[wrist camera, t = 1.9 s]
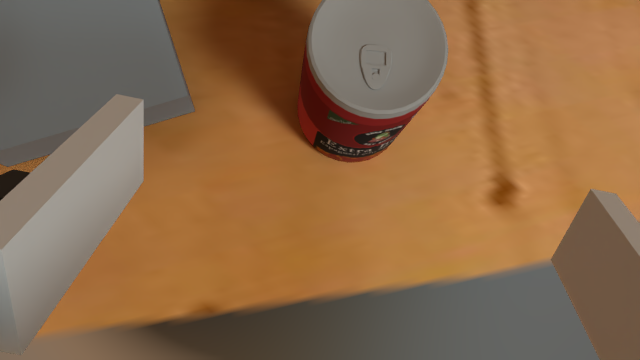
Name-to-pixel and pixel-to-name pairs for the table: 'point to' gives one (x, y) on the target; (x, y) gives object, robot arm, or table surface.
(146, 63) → the stand
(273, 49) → the table surface
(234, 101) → the table surface
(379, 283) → the table surface
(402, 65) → the canned food
